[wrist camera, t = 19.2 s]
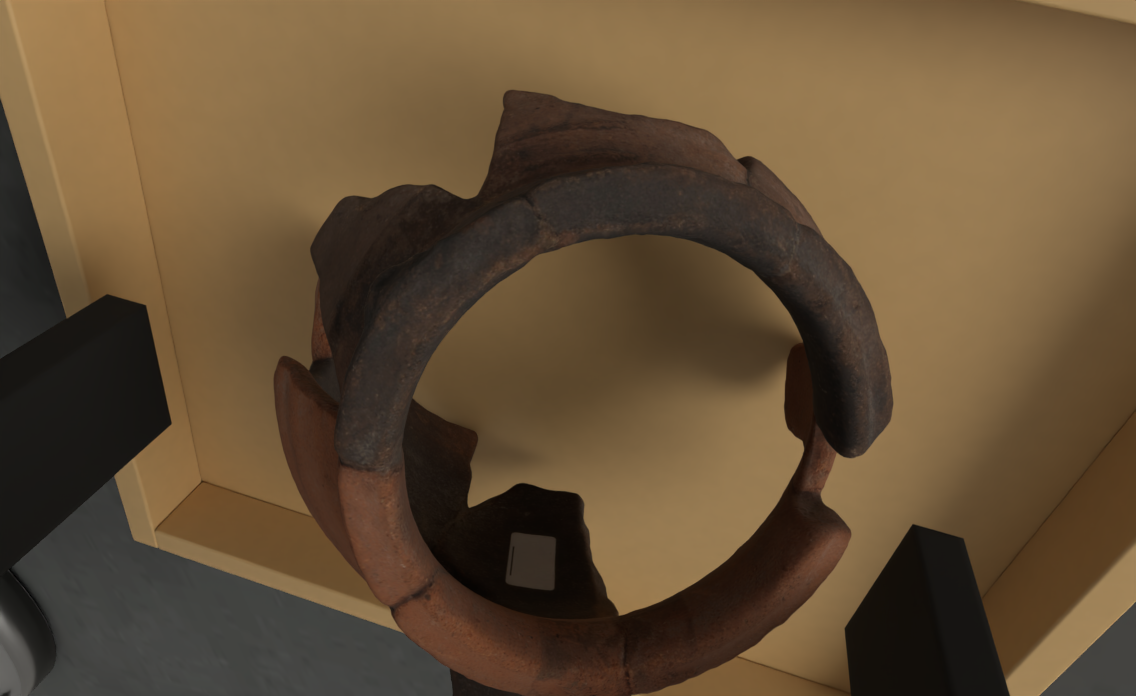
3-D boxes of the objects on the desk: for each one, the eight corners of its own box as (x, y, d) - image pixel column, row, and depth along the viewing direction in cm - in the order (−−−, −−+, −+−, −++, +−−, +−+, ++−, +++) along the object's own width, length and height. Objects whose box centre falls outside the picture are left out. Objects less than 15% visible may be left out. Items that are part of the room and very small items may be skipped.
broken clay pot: (292, 89, 14) (158, 63, 6) (739, 107, 16) (1053, 105, 8) (334, 604, 18) (284, 984, 10) (691, 564, 20) (876, 854, 12)
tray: (193, 479, 22) (132, 540, 20) (36, -270, 12) (-124, -304, 10) (907, 714, 19) (921, 812, 17) (1502, 11, 9) (1712, 46, 7)
